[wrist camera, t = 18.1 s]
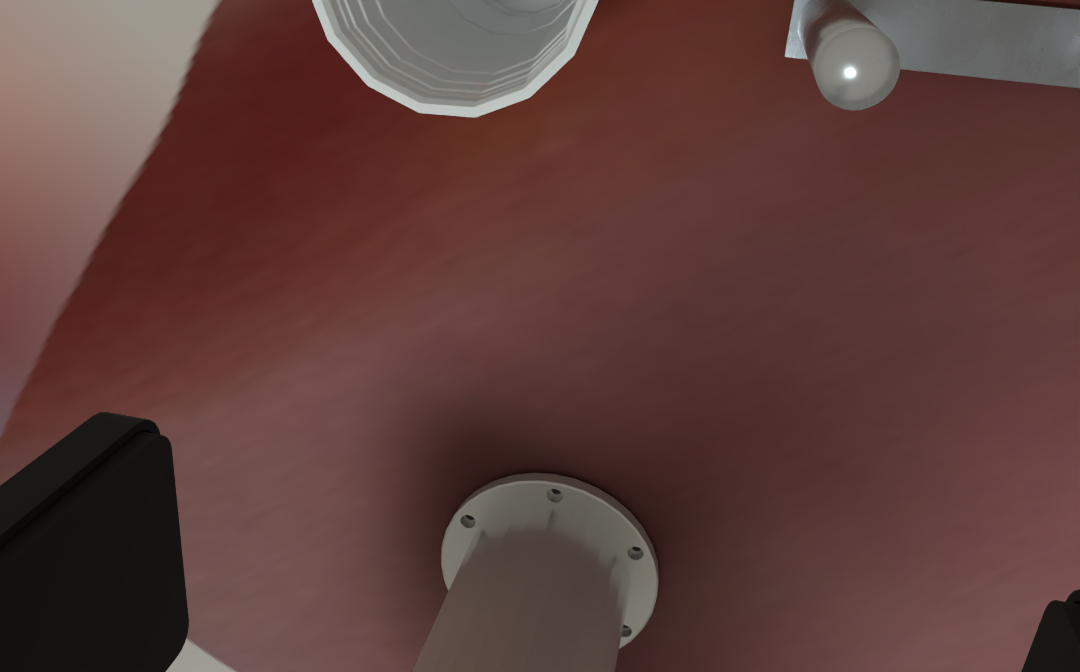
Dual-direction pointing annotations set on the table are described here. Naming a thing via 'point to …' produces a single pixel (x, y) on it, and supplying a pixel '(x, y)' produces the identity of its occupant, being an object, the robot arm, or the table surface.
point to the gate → (930, 43)
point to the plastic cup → (455, 48)
